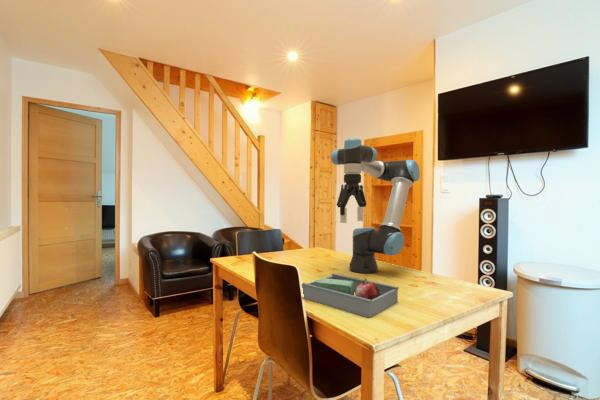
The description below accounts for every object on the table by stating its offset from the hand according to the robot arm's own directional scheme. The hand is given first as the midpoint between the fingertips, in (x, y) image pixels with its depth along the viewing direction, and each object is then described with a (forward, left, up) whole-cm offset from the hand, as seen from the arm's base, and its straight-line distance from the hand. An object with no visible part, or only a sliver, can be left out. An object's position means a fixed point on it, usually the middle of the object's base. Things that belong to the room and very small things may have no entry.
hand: (352, 222), depth 139 cm
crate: (+16, +9, -29) cm, 34 cm away
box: (+20, +5, -29) cm, 35 cm away
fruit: (+16, +17, -29) cm, 37 cm away
